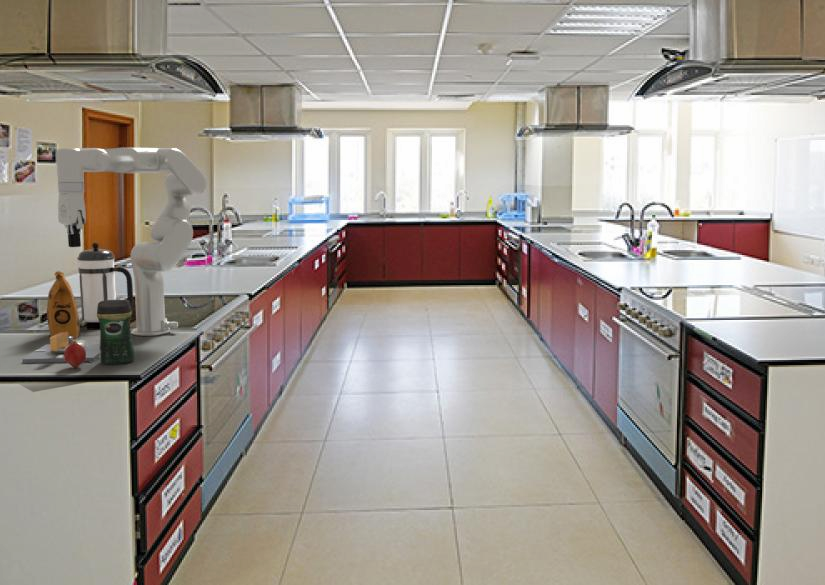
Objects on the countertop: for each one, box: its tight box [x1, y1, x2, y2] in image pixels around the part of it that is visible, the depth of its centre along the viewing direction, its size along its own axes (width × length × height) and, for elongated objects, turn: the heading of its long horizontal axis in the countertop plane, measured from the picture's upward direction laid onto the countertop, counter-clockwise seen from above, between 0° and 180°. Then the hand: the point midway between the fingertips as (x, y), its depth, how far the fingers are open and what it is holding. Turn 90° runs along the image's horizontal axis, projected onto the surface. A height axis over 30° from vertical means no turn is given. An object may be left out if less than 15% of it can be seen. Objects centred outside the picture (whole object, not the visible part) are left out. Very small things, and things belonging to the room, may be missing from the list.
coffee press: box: [74, 242, 134, 327], centre depth 291 cm, size 17×16×30 cm
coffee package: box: [46, 270, 81, 339], centre depth 268 cm, size 10×12×22 cm
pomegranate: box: [64, 341, 86, 369], centre depth 227 cm, size 6×6×8 cm
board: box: [22, 342, 100, 364], centre depth 243 cm, size 20×20×2 cm
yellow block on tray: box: [49, 332, 87, 354], centre depth 240 cm, size 15×10×6 cm, turn 1°
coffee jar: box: [97, 299, 135, 365], centre depth 233 cm, size 10×8×19 cm
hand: (74, 246), depth 250 cm, fingers closed
